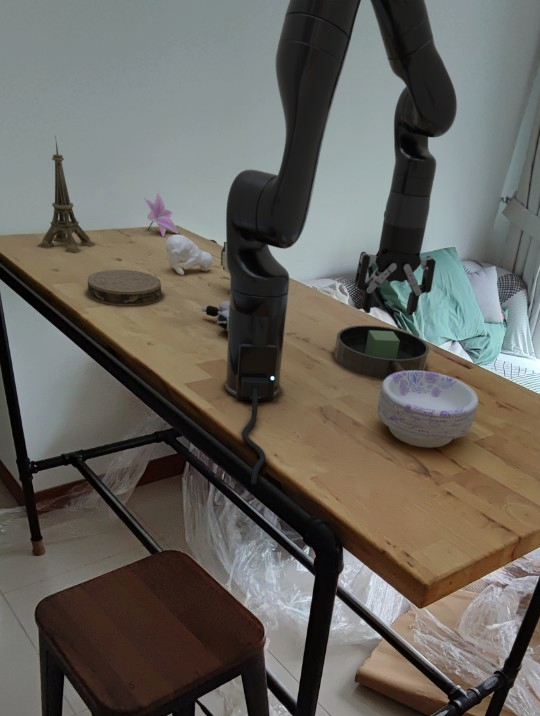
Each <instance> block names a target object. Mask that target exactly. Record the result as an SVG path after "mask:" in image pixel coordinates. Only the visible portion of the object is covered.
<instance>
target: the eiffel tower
mask: <svg viewBox="0 0 540 716" xmlns="http://www.w3.org/2000/svg"><path fill="white" fill-rule="evenodd" d="M54 136H55V137H54V138H55V139H57V135H54ZM58 148H59V147H58V143H57V141H55V154H54V153H53V154H52V157H51V160H52V161H54V202H52V204H51V207H53V216H52V221H49V224H50V226H49V228H48V230H47V231H46V233H45V235H44V236H43V238H42V240H41V243H40V244H38V245H37V247H40V248H46V249H49V248H52V247H53V246H54V243H53V241H57V242H61V243H63V242H67V243H66V249H65V252H68V253H74V254H77V253H78V252H81V248H80V247H79V245H78V244H77V241H76V240H75V238H74V236H73V233H74V234H75V235H76V236H77V237H78V239H79V240H80V243H79V244H80V245H81V246H86V247H92V246H94V245H96V243H95V242H93V241H91V238H90V236H89V235H88V234H87V233H86V232H85V230H84V229H83V228H82V227H81V226H80V225H79V224H80V221H77V218H76V217H75V213H74V210H73V208H74V204H73V202H71V201H70V195H69V190H68V186H67V182H66V177H65V173H64V167H63V163H62V162H63V161H64V160H65V158H64V157H63V154H59V149H58Z"/></svg>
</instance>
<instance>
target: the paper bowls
mask: <svg viewBox="0 0 540 716" xmlns="http://www.w3.org/2000/svg"><path fill="white" fill-rule="evenodd" d="M377 403H378V404H377V411H376V412H377V415H378V417H379V420H381V422H383V424H384V425H386V426H387V427H388V429H389V431H390V433H391V434H392V435H393V436H394V437H395V438H396V439H398V440H399V441H401V442H402V443H405V444H408V445H410V446H413V447H414V446H415V447H417V448H419V447H420V448H427V449H428V448H429V449H430V448H439V447H443V446H445V445H447V444H449V443H450V442H452V440H455V439H459V438H462V437H464V436H466V435H467V434H468V433H469V432H470V431H471V429H472V427H473V423H474V421H475V417H476V412H477V410H478V406H479V396H478V395H477V393H476V391H475V390H474V389H473V388H472V387H471V386H469V385H468V384H466V383H465V382H463V381H461V380H460V379H457V378H455V377H452V376H450V375H446V374H443V373H439V372H434V371H427V370H424V371H417V370H411V371H401V372H397V373H393V374H391V375H389V376H388V377H387V378H386V379H383V381H382V383H381V387H380V394H379V398H378V402H377Z"/></svg>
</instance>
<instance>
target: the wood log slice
mask: <svg viewBox="0 0 540 716" xmlns="http://www.w3.org/2000/svg"><path fill="white" fill-rule="evenodd" d="M87 291H88V296H89V297H90V298H91V299H92V300H94V301H96V302H99V303H103V304H107V305H111V306H120V307H139V306H147V305H150V304H154V303H157V302H158V301H159V300H160V299H161V298H162V283H161V279H160V278H158V277H157V276H156V275H153V274H150V273H148V272H142V271H137V270H129V269H107V270H101V271H96V272H93V273H91V274H90V275H89V276H88V277H87Z"/></svg>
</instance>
